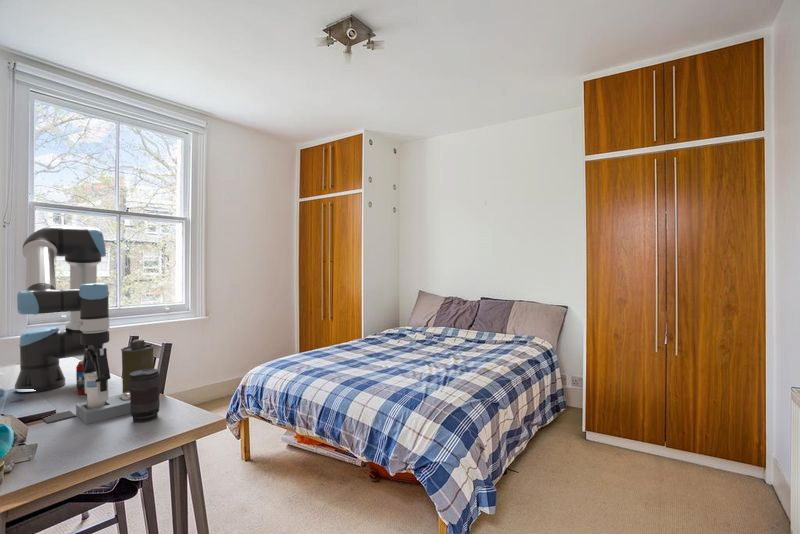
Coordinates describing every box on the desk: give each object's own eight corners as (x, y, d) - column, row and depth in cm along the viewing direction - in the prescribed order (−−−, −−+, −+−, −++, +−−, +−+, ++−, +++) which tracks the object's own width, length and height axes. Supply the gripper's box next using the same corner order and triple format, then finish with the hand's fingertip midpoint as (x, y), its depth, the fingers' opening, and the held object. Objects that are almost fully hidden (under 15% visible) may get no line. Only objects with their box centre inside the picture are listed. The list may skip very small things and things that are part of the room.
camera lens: (132, 416, 131) (131, 369, 131) (161, 412, 134) (160, 367, 134) (127, 425, 123) (126, 376, 123) (157, 421, 127) (157, 373, 126)
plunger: (120, 405, 138) (120, 393, 138) (132, 402, 141) (132, 390, 141) (124, 407, 136) (124, 395, 136) (136, 404, 138) (136, 392, 138)
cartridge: (85, 416, 131) (84, 373, 131) (103, 412, 135) (102, 370, 134) (89, 419, 128) (89, 375, 128) (107, 415, 132) (106, 372, 131)
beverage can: (77, 396, 150) (76, 364, 150) (76, 392, 155) (75, 361, 155) (100, 392, 154) (99, 361, 154) (98, 388, 160) (97, 358, 159)
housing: (76, 415, 132) (75, 404, 132) (132, 401, 144) (132, 391, 144) (86, 424, 124) (86, 413, 124) (145, 409, 137) (144, 399, 137)
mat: (42, 418, 130) (42, 416, 130) (69, 411, 135) (69, 410, 135) (47, 423, 125) (47, 422, 125) (75, 416, 131) (75, 415, 131)
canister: (138, 398, 148) (137, 343, 147) (114, 396, 150) (113, 342, 149) (161, 389, 158) (161, 338, 158) (139, 387, 160) (138, 337, 160)
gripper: (70, 328, 136) (71, 391, 136) (92, 337, 120) (93, 408, 120) (97, 325, 142) (98, 386, 142) (121, 333, 126) (122, 401, 126)
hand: (96, 396), depth 131 cm, fingers open, 13 cm apart
